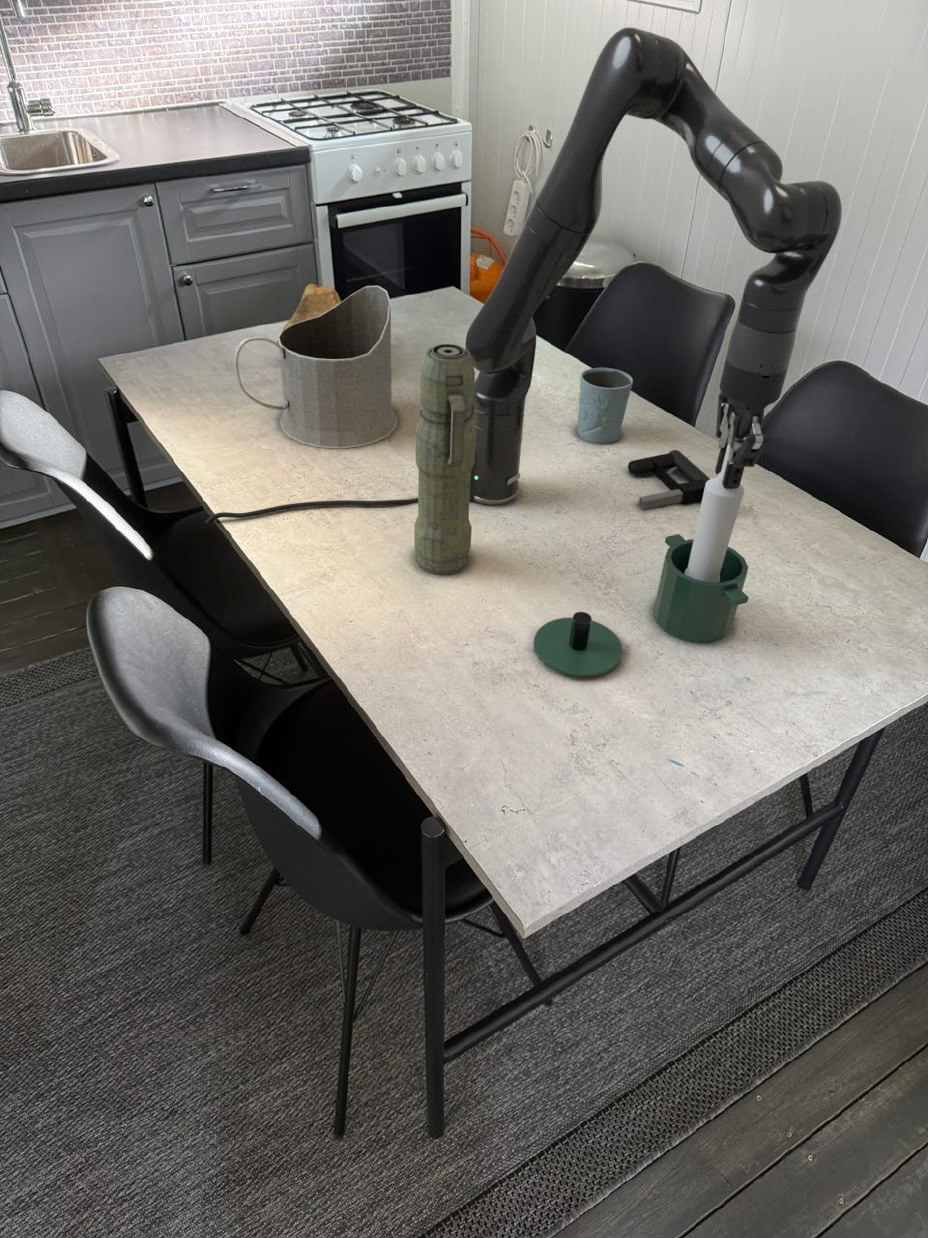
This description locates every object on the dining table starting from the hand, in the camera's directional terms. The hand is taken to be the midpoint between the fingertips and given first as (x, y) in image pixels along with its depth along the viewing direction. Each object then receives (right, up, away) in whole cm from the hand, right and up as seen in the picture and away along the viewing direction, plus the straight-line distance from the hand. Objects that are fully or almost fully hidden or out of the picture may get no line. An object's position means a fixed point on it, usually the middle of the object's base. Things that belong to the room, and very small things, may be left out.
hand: (726, 480), depth 123 cm
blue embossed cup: (-8, +19, +61) cm, 65 cm away
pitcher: (-64, +20, +59) cm, 89 cm away
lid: (-19, -23, +7) cm, 31 cm away
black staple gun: (+2, +4, +44) cm, 44 cm away
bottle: (-1, -14, +11) cm, 18 cm away
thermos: (-39, -9, +24) cm, 47 cm away
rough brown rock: (-68, +39, +82) cm, 114 cm away
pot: (-1, -19, +15) cm, 24 cm away
